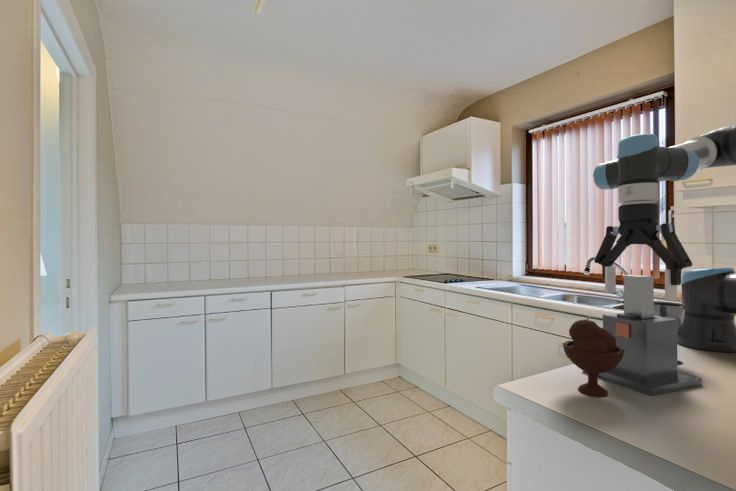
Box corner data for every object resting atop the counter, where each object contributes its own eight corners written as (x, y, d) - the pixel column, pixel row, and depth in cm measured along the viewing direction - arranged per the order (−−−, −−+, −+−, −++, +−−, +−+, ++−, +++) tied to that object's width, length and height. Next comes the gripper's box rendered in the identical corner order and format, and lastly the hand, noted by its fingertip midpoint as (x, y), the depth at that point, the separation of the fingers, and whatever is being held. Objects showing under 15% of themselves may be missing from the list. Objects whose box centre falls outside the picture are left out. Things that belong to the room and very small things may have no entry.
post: (636, 363, 90) (635, 274, 90) (655, 369, 86) (654, 276, 85) (623, 366, 88) (622, 275, 88) (642, 371, 84) (641, 276, 84)
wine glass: (692, 366, 94) (692, 306, 94) (656, 364, 96) (656, 305, 96) (673, 356, 102) (673, 301, 102) (640, 355, 104) (640, 301, 104)
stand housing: (628, 363, 97) (628, 305, 97) (701, 385, 82) (701, 317, 82) (582, 371, 92) (582, 310, 92) (652, 396, 77) (651, 323, 77)
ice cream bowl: (604, 407, 72) (604, 328, 72) (552, 387, 82) (551, 318, 82) (636, 396, 77) (635, 322, 77) (582, 379, 86) (582, 313, 86)
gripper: (578, 208, 97) (579, 290, 97) (689, 196, 74) (690, 305, 74) (599, 209, 100) (600, 289, 100) (713, 198, 76) (714, 303, 76)
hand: (638, 296), depth 87 cm, fingers open, 13 cm apart
